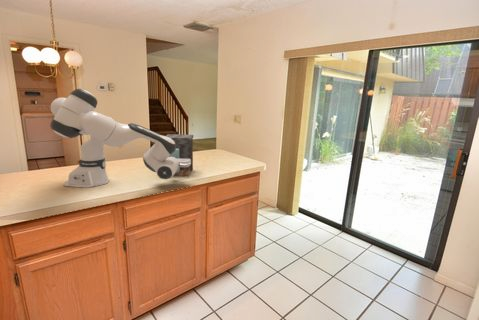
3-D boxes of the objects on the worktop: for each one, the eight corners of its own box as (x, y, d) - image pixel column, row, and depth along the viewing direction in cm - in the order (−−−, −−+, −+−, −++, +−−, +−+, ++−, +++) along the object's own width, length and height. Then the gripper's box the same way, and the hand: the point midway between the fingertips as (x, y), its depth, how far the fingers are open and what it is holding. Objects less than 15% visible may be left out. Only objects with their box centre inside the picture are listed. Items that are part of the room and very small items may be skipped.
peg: (170, 172, 151) (170, 149, 148) (172, 170, 155) (171, 148, 152) (178, 172, 151) (177, 150, 148) (179, 170, 155) (179, 148, 152)
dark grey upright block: (164, 176, 162) (163, 137, 156) (169, 169, 178) (168, 134, 172) (190, 176, 164) (190, 138, 158) (193, 170, 179) (193, 134, 173)
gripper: (189, 159, 139) (192, 154, 152) (152, 159, 137) (158, 153, 151) (189, 170, 140) (192, 164, 154) (152, 170, 139) (158, 164, 152)
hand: (175, 159), depth 152 cm, fingers closed on peg, 4 cm apart
